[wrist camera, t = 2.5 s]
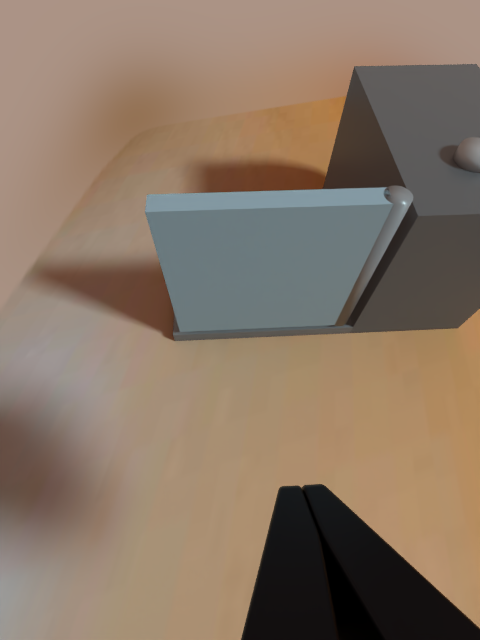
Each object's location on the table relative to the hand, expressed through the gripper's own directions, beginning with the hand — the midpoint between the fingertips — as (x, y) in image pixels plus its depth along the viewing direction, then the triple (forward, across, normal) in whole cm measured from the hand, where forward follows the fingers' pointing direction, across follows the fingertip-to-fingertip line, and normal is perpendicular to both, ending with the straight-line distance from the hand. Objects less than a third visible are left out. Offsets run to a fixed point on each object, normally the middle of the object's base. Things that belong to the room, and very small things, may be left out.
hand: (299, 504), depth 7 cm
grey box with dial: (+22, -5, -3) cm, 23 cm away
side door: (+17, -1, +1) cm, 17 cm away
